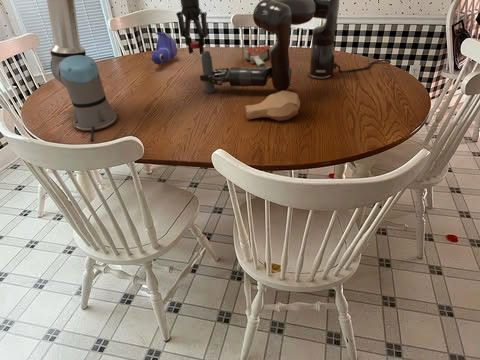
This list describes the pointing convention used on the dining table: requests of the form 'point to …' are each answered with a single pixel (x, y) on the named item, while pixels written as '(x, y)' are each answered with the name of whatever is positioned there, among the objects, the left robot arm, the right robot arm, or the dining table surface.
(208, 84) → the dark grey piece
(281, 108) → the squash
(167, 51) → the toy
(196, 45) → the lid
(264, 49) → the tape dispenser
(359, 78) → the dining table surface
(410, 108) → the dining table surface
